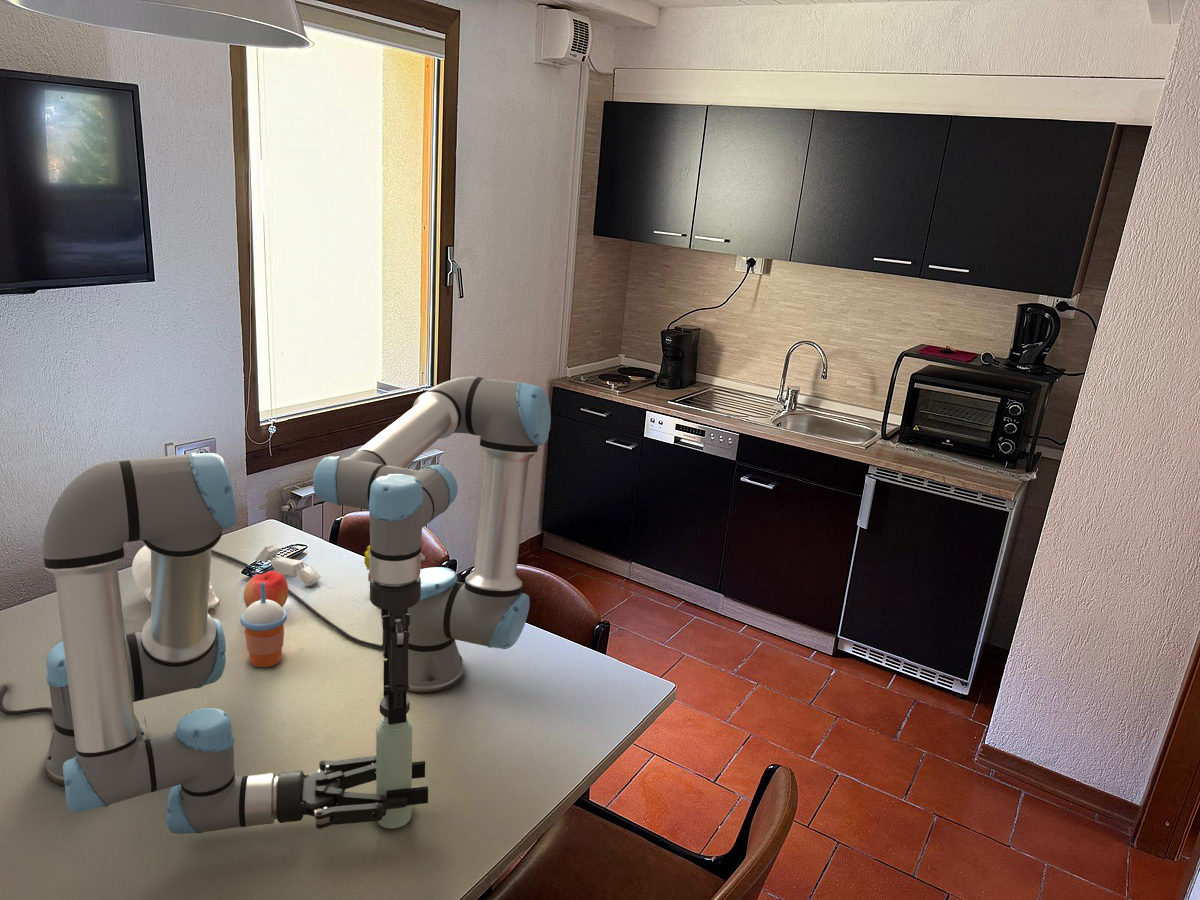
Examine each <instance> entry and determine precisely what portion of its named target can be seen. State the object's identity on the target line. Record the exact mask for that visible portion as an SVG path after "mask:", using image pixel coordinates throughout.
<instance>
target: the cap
mask: <svg viewBox="0 0 1200 900" xmlns="http://www.w3.org/2000/svg"><path fill="white" fill-rule="evenodd" d="M410 705H411V704H410V699H409V697H408V696H407V702H406V715H408V713H409V712H410ZM379 713H380V714H381V715H382V717H383V716H385V717H387V718H388V695H386V696H384V695H383V697H382V698H381V699H380V701H379Z"/></svg>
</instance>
